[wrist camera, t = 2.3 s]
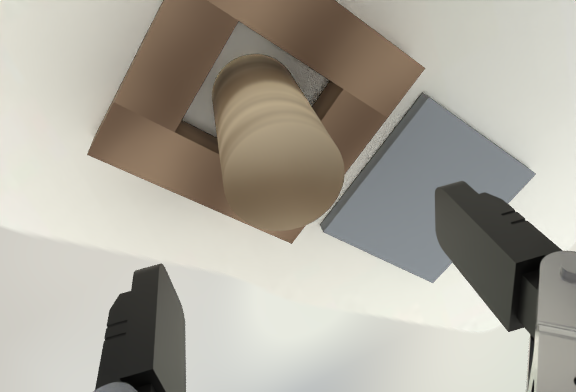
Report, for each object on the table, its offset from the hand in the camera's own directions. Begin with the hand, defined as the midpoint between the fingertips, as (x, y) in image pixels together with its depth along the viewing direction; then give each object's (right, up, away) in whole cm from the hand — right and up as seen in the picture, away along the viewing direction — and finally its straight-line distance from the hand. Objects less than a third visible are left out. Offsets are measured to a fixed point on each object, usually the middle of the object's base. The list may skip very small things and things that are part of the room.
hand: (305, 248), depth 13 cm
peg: (-2, +7, +11) cm, 13 cm away
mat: (+8, +2, +16) cm, 18 cm away
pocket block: (-2, +7, +11) cm, 13 cm away
